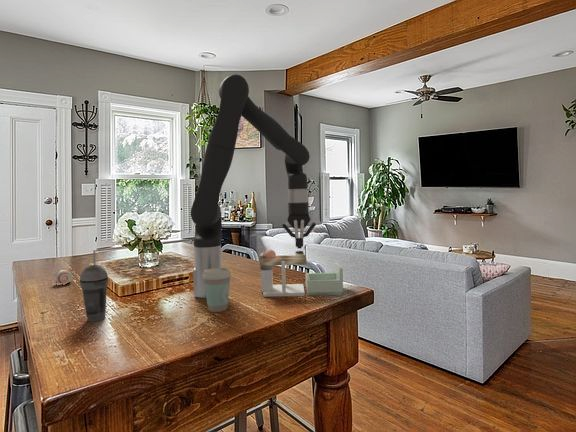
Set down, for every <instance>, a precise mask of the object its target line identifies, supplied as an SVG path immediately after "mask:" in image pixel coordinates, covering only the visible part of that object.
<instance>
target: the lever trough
mask: <svg viewBox="0 0 576 432" xmlns="http://www.w3.org/2000/svg"><path fill="white" fill-rule="evenodd" d="M294 253H295V254H292V255H290V254H289V255H276V257H275V259H265V256H264V255H265V252H260V255H259V266H260V270H261V269H272V270H273V266H281V261H285V266H301V265H303V266H306V265H307V257H306V256H307V255H306V254H305V253H304V251H303V250H295V252H294Z"/></svg>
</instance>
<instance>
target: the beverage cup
mask: <svg viewBox="0 0 576 432" xmlns="http://www.w3.org/2000/svg"><path fill="white" fill-rule="evenodd" d="M92 255H93V265H91V264H90V265H88V266H86V267H85V268H84V269H83V270H82V271H81V274H80V278H79V283H80V288H81V289H82V296H83V302H84V310H85V315H86V318H87V322H90V323H91V322H92V323H95V322H100V321H104V320H105V319H106V314H107V290H108V289H107V288H108V287H107V286H108V281H109V280H108V279H109V276H108V272H107V270H106V269H105V268H104V267H103V266H101V265H99V264H96V249H94V250H93V254H92Z"/></svg>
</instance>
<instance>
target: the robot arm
mask: <svg viewBox="0 0 576 432" xmlns="http://www.w3.org/2000/svg"><path fill="white" fill-rule="evenodd" d="M249 88H250V87H249V84H248V81H247V80H246V78H245V77H243V76H242V75H240V74H237V73H236V74H231V75H229V76H227V77H225V78H224V79H223V81H222V82H221V83H220V85H219V88H218V95H219V98H220V103H219V108H218V113H217V116H216V120H215V122H214V124H213V126H212V129H211V132H210V134H209V138H208V140H207V143H206V144H207V145H206V148H205V153H204V157H203V162H202V168H201V174H200V178H199V179H200V181H199V184H198V188H197V191H196V194H195V197H194V200H193V203H192V205H191V208H190V217H191V220H192V222H193V223H194V224H195V226H194V227H195V232H194V237H193V253H194V254H193V257H194V268H193V270H192V271H193V272H192V273H193V275H192V278H193V296H194V298H200V299H207V298H206V292H205V285H204V279H203V278H202V277H203V274H204V270H206V269H210V268H223V260H222V236H223V228H222V227H223V226H222V225H223V222H222V221H223V220H222V209H221V206H220V204H219V201H220V194H221V191H222V188H223V187H222V186H223V184H224V182H225V179H226V178H227V176H228V173H229V171H230V168H231V166H232V162H233V157H234V153H235V149H236V143H237V139H238V138H237V137H238V132H239V127H240V123H241V122H240V121H241V117H242V118H243V119H245V120H246V121H247V122H248V123H249V124H250V125H251V126H252V127H254V129H255V130H256V131H257V132H258V133H260V134H261V136H263V138H264V139H265V140H266V141H268V143H269V144H270V145H271V146H272V147H273V148H274V149H276V150H278V151H282V153H284V154H285V155H284V167H285V170H286V171H285V172H286V175H287V178H288V179H287V181H288V182H287V183H288V184H287V185H288V186H287V187H288V192H287V209H288V216H287V219H286V221H285V222H284V223H282V227H283V229H284V230H285V231H286V233H288V235H289V236H290V237H291V238H294V240H295V241H294V242H295V247H296V248H297V250H298V249H299V250H300V249H302V248H303V247H304V238H306V237H308V236H309V235H310V233H312V231H313V230H314V229H315V227H316V225H317V223H316V222H314V221H312V220H311V217H310V211H309V210H310V209H309V208H310V207H309V205H310V204H309V192H308V177H307V176H308V175H307V174H306V173H304V169H303V166H304V165H306V164H308V163H309V161H310V158H311V157H310V152H309V150H308V149H307V147H306V146H305V145H304V144H303V143H301V142H300V141H299V140H297V139H296V138H294V137H293V136H291V135H290V134H289V133H288V132H287V131H286V129H285V128H284V127H283V126H282V125H281V124H280V123H279V122H277V120H275V118H273V117H272V116H271V115H269V114H267V113H266V112H265V111H263V110H262V109H260V107H258V106H257V105H256V103H254V102H253V100H252V99H251V98H250V97H249V93H250V89H249ZM290 226H291V228H292V229H293V230H294V232H293V231H292V230H291V229H290ZM307 226H308V228H307V230H306V231H305V229H306V227H307Z"/></svg>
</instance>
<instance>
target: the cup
mask: <svg viewBox="0 0 576 432" xmlns="http://www.w3.org/2000/svg"><path fill="white" fill-rule="evenodd" d="M334 271H335V272H310V273H309V272H306V273H305V289H306V295H307V296H309V297H310V296H343V295H344V274H343V273H344V272H343V271H344V269H343V267H342V266H341V264H340V262H338V261H335V262H334Z"/></svg>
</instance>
